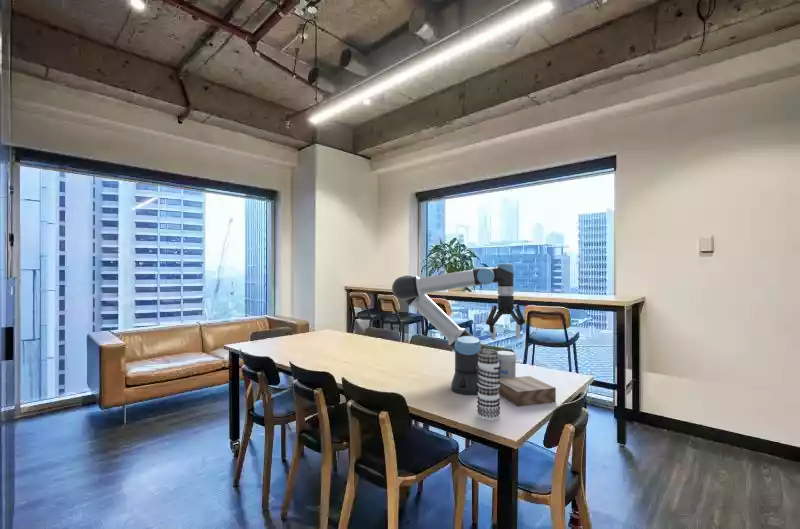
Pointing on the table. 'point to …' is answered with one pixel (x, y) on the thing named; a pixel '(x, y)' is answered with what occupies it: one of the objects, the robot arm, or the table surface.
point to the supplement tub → (507, 364)
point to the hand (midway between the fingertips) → (505, 338)
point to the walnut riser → (526, 391)
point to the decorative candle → (488, 384)
